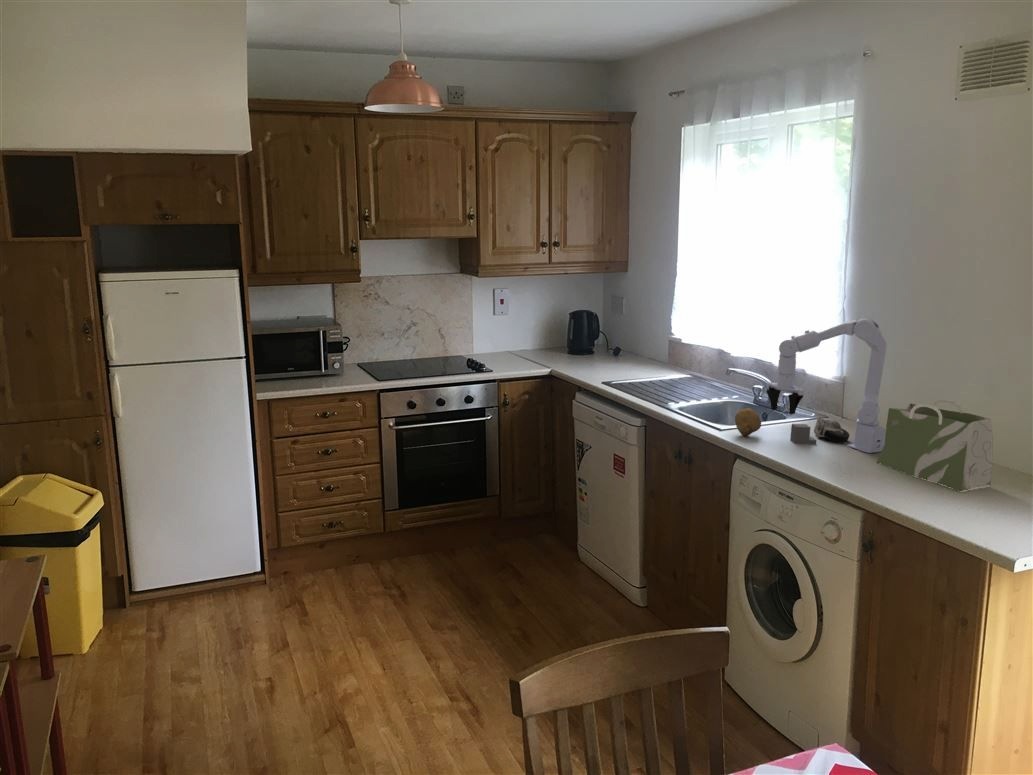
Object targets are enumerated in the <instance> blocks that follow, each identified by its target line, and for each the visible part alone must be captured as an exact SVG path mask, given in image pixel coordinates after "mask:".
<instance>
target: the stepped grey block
mask: <svg viewBox="0 0 1033 775" xmlns="http://www.w3.org/2000/svg"><path fill="white" fill-rule="evenodd" d="M811 428H812V427H811V426H809V425H808V424H806V423H791V427H790V429H791V430H790V439H789V440H790V442H791V441H792V442H791V443H793V444H794V445H817V440H818V439H816V438H814V437H813V436H810V435H811Z"/></svg>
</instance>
